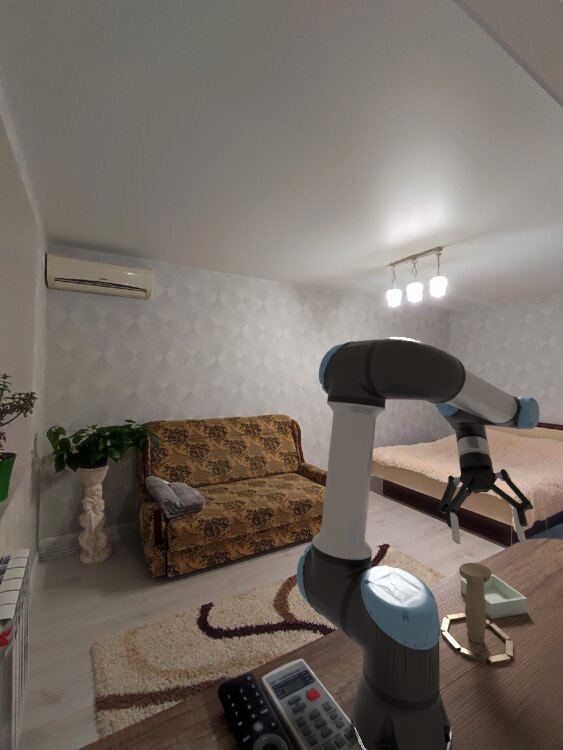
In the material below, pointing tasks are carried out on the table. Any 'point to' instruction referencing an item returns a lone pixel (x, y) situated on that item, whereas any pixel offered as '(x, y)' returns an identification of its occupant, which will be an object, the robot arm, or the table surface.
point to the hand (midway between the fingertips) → (487, 542)
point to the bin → (500, 598)
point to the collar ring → (471, 655)
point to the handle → (475, 599)
